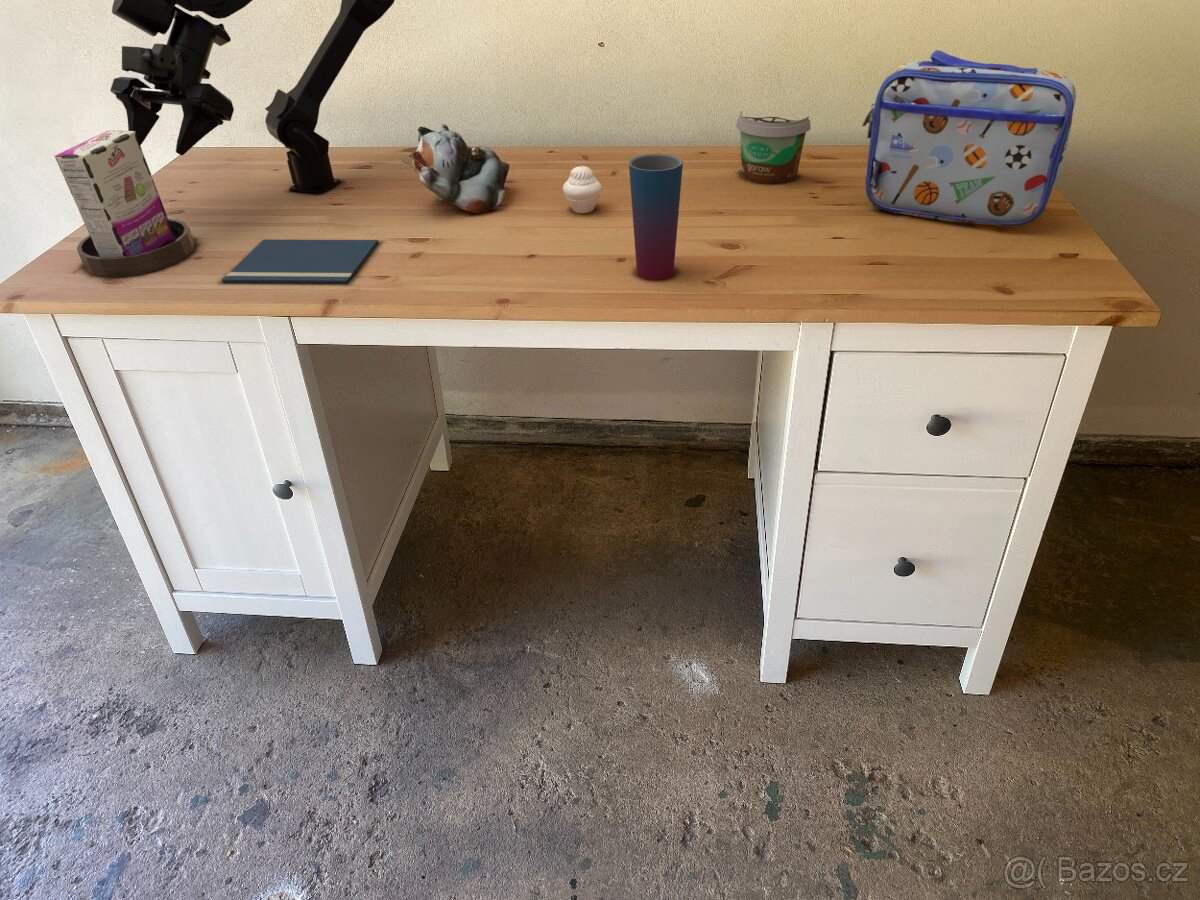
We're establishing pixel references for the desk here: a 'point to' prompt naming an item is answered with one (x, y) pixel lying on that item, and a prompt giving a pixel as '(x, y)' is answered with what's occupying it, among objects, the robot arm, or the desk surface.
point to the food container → (771, 147)
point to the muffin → (582, 190)
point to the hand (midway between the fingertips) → (155, 151)
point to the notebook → (302, 261)
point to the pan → (138, 255)
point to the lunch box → (968, 140)
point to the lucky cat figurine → (459, 170)
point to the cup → (655, 212)
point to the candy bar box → (116, 194)
